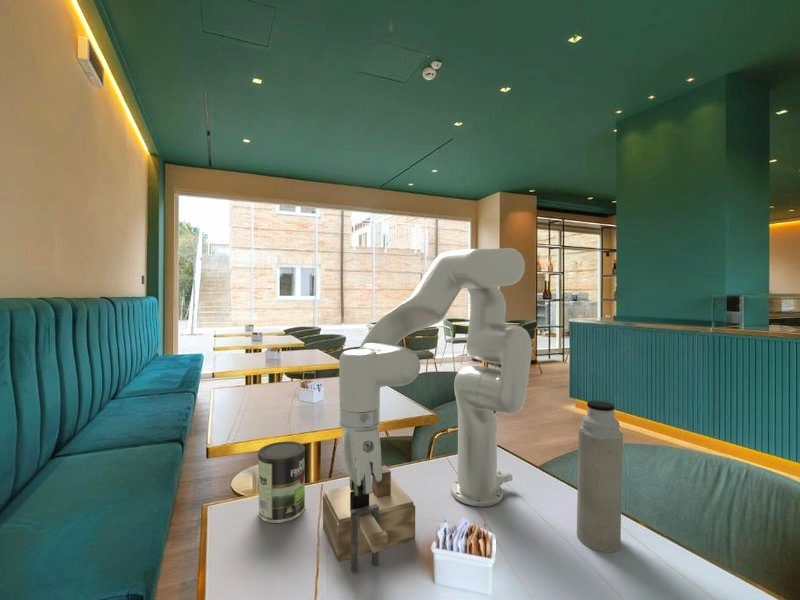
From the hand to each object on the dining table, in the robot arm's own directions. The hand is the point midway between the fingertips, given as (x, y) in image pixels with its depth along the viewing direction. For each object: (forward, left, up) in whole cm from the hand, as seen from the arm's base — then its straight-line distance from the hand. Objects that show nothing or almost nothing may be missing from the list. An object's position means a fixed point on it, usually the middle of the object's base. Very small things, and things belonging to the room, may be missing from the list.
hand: (359, 512), depth 75 cm
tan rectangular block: (0, +6, -1) cm, 6 cm away
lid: (-4, -7, -3) cm, 8 cm away
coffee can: (+11, -23, -9) cm, 27 cm away
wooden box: (-4, -5, -9) cm, 11 cm away
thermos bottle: (-46, +14, -9) cm, 49 cm away
